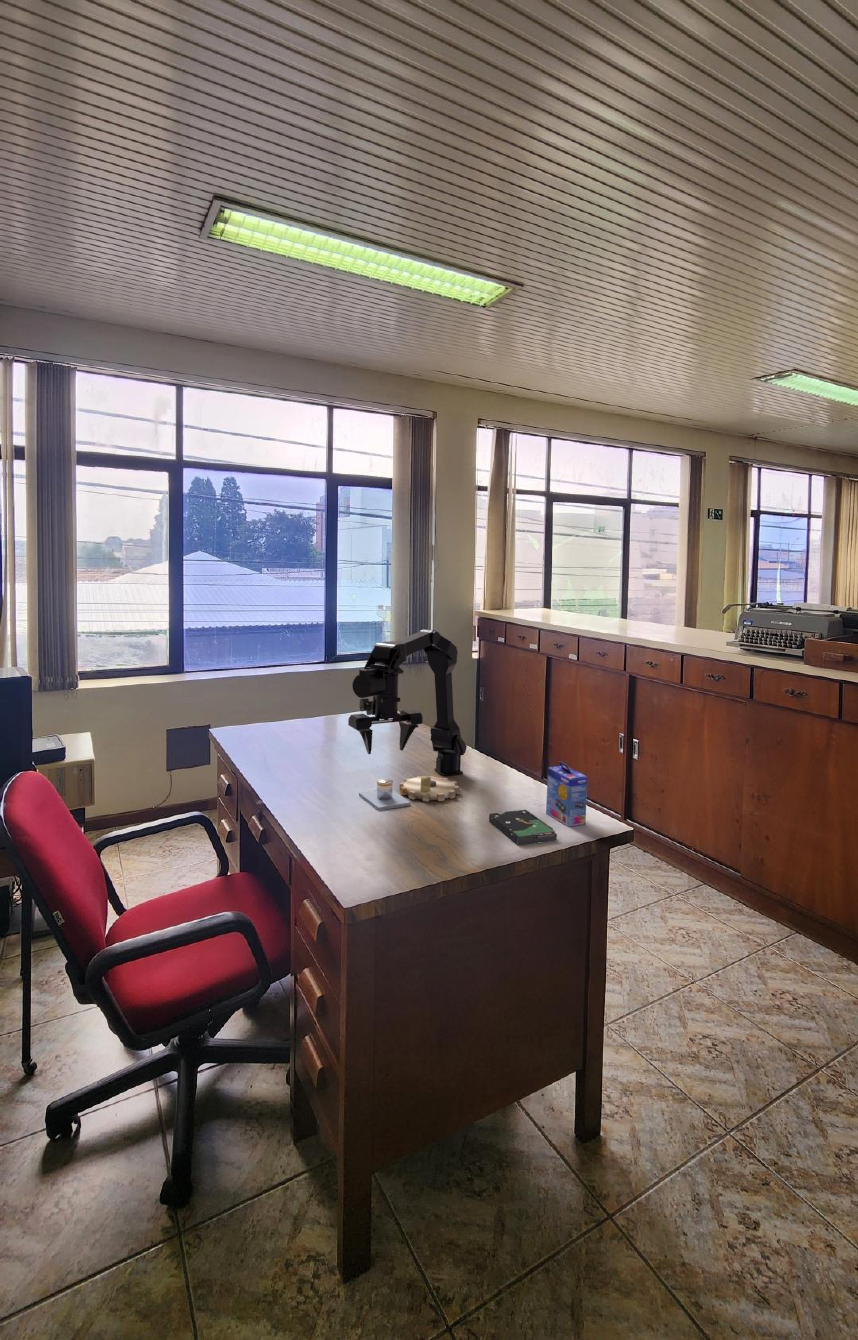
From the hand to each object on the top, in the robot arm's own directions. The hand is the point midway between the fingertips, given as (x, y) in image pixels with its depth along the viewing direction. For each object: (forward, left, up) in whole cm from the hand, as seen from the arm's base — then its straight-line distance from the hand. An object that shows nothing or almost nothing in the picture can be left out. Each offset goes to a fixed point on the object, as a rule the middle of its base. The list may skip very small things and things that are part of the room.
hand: (385, 752), depth 173 cm
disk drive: (-21, +32, -14) cm, 40 cm away
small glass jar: (0, 0, -12) cm, 12 cm away
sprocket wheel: (-14, -1, -13) cm, 19 cm away
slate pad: (0, 0, -13) cm, 13 cm away
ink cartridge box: (-35, +30, -13) cm, 48 cm away
